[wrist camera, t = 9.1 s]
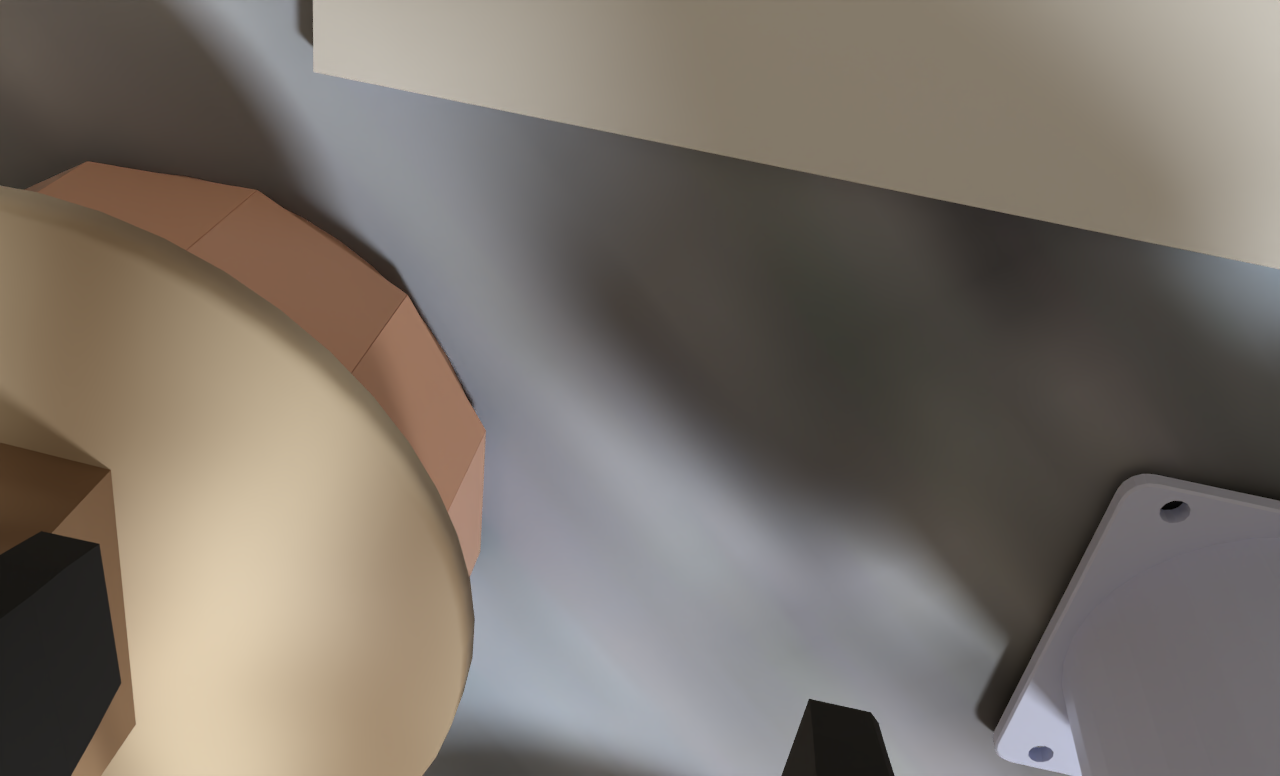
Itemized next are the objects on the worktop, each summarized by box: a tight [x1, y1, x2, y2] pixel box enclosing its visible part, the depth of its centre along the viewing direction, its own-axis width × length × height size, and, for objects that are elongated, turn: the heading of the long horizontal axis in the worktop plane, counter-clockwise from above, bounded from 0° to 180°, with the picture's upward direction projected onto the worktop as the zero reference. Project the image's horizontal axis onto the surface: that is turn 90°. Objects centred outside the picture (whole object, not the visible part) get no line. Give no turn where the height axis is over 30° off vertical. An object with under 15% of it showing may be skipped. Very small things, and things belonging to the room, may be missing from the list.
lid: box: [0, 186, 475, 776], centre depth 17 cm, size 14×14×4 cm
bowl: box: [24, 161, 486, 577], centre depth 21 cm, size 12×12×5 cm
